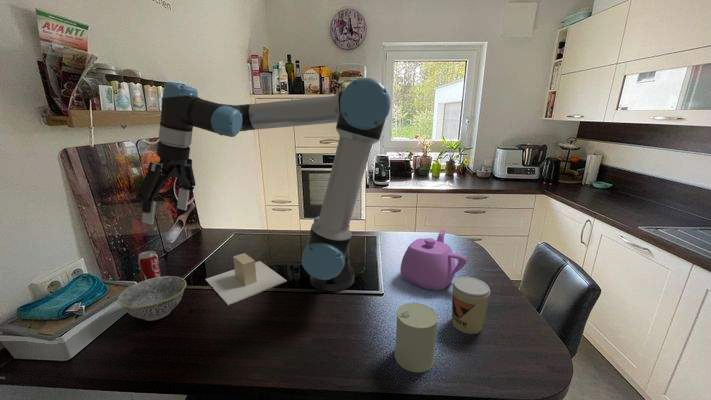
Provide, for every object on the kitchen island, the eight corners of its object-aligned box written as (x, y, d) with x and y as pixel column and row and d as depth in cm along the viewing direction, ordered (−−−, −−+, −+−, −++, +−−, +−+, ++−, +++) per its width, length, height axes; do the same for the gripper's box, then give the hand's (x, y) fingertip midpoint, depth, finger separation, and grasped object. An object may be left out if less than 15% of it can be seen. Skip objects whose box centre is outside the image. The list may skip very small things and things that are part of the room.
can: (390, 343, 74) (392, 301, 71) (427, 341, 75) (430, 299, 72) (399, 374, 65) (401, 327, 62) (440, 371, 66) (444, 325, 63)
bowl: (174, 291, 96) (171, 270, 94) (200, 309, 87) (196, 286, 85) (114, 316, 83) (108, 293, 81) (136, 341, 74) (130, 315, 72)
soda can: (153, 292, 95) (146, 257, 92) (139, 290, 96) (132, 256, 93) (166, 283, 100) (160, 250, 97) (153, 282, 101) (147, 249, 98)
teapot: (455, 303, 90) (459, 258, 86) (393, 282, 102) (395, 241, 98) (474, 273, 108) (479, 234, 104) (420, 258, 120) (423, 222, 116)
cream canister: (441, 318, 83) (445, 280, 80) (467, 310, 87) (471, 273, 84) (465, 340, 75) (470, 298, 72) (493, 330, 79) (499, 290, 76)
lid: (286, 283, 102) (285, 259, 100) (228, 307, 89) (225, 280, 87) (259, 263, 116) (258, 241, 114) (205, 281, 103) (202, 257, 101)
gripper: (191, 137, 92) (182, 200, 98) (121, 142, 68) (115, 225, 74) (213, 144, 92) (204, 207, 97) (152, 151, 68) (144, 234, 73)
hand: (166, 215), depth 86 cm, fingers open, 13 cm apart
